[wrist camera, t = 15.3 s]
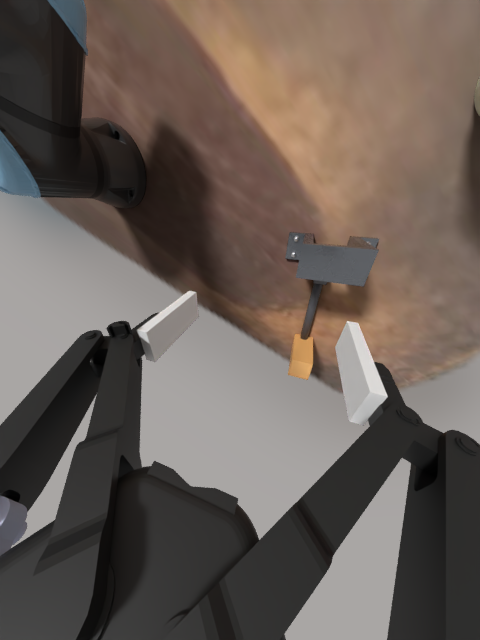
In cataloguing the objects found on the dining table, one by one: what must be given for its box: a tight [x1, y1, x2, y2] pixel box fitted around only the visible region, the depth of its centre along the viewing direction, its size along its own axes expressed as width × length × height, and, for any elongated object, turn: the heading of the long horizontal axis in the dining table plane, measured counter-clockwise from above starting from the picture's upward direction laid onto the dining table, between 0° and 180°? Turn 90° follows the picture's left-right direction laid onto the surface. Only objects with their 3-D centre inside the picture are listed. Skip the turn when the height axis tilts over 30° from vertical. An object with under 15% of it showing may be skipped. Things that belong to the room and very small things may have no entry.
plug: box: [288, 280, 327, 380], centre depth 41 cm, size 4×24×10 cm, turn 179°
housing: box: [286, 232, 379, 286], centre depth 31 cm, size 16×5×12 cm, turn 89°
